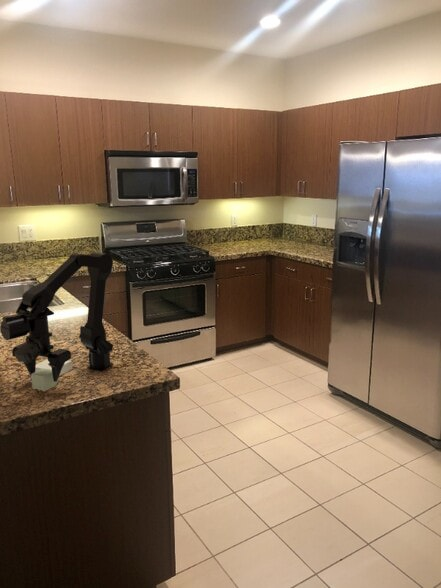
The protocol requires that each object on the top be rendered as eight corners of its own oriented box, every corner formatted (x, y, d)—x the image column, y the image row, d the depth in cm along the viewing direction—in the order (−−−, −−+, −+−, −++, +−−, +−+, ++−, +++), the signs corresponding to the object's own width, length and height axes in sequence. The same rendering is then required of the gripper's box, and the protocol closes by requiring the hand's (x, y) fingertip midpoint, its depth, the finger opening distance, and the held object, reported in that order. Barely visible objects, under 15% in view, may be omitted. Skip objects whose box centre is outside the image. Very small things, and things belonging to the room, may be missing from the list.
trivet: (72, 369, 161) (71, 360, 160) (53, 379, 153) (52, 370, 152) (51, 365, 165) (51, 357, 164) (32, 375, 157) (31, 366, 156)
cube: (56, 385, 149) (55, 370, 148) (45, 391, 145) (43, 376, 143) (44, 382, 151) (42, 368, 150) (32, 389, 147) (31, 374, 145)
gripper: (-6, 335, 140) (1, 384, 144) (43, 343, 133) (48, 394, 136) (23, 324, 150) (29, 370, 154) (70, 331, 142) (74, 379, 146)
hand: (44, 378), depth 147 cm, fingers open, 9 cm apart
